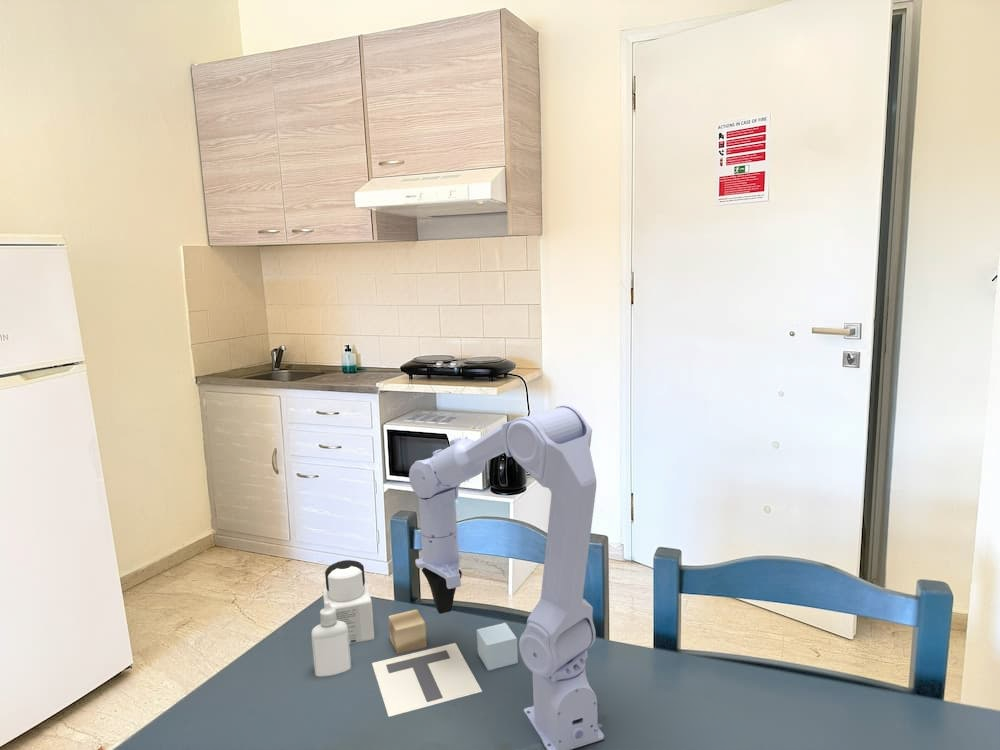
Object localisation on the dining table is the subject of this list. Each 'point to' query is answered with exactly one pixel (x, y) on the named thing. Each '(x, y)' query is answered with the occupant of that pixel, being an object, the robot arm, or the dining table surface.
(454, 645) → the letter card
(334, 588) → the container
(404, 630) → the oak block
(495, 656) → the pale blue cube
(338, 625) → the eye dropper bottle
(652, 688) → the dining table surface
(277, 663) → the dining table surface
